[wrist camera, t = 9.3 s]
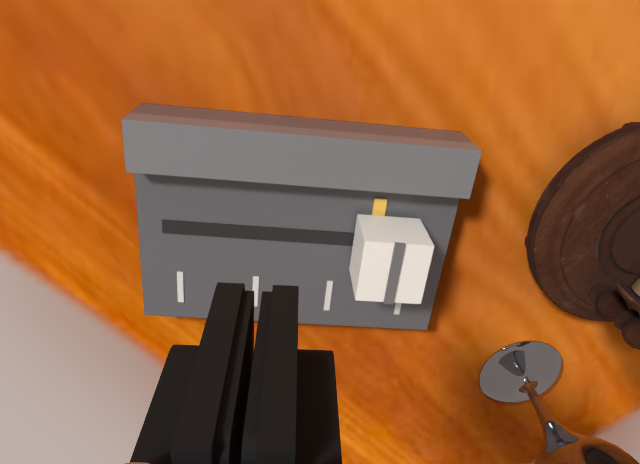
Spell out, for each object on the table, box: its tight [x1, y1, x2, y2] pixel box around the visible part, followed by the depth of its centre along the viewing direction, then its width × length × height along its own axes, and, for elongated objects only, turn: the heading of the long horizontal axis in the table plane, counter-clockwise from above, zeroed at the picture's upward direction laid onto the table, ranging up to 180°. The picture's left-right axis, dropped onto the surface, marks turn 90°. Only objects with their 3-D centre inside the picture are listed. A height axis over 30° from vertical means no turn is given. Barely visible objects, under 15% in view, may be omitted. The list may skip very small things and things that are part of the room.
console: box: [122, 103, 482, 330], centre depth 32 cm, size 20×14×4 cm
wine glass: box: [479, 341, 639, 464], centre depth 35 cm, size 8×8×15 cm
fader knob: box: [349, 214, 434, 304], centre depth 30 cm, size 4×4×4 cm
